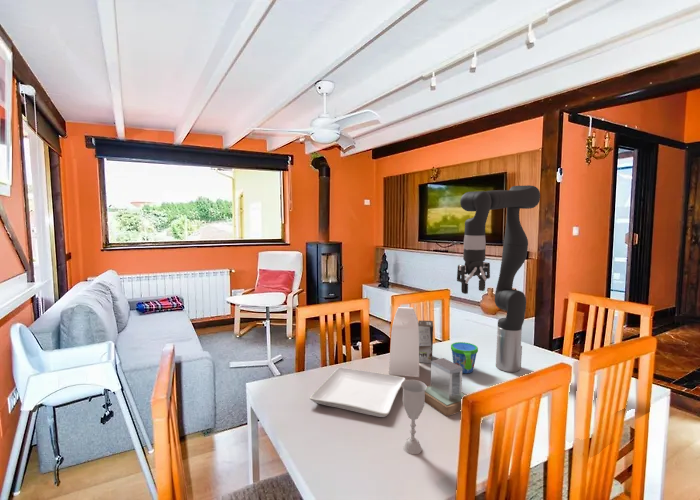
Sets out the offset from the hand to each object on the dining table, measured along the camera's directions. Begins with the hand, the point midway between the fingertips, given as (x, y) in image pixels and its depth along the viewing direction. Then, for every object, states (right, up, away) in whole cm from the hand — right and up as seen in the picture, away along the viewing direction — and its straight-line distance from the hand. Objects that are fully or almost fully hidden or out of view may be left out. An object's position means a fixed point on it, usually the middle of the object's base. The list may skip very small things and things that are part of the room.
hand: (473, 292), depth 138 cm
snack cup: (+2, -34, +17) cm, 38 cm away
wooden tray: (-12, -37, -9) cm, 40 cm away
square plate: (-41, -37, -4) cm, 55 cm away
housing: (-12, -33, -9) cm, 37 cm away
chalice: (-28, -39, -34) cm, 59 cm away
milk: (-23, -34, +18) cm, 44 cm away
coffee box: (-12, -33, +29) cm, 46 cm away
